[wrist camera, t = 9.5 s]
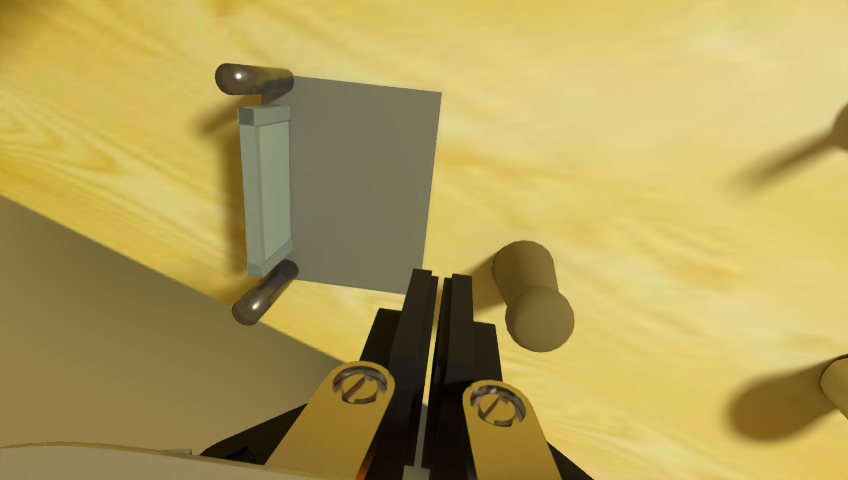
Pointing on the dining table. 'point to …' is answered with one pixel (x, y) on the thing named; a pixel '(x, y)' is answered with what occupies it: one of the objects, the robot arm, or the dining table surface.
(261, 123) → the gate
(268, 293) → the stile
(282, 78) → the hinge post
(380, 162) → the mat
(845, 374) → the flower pot
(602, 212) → the dining table surface
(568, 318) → the cork
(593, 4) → the dining table surface
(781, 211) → the dining table surface
